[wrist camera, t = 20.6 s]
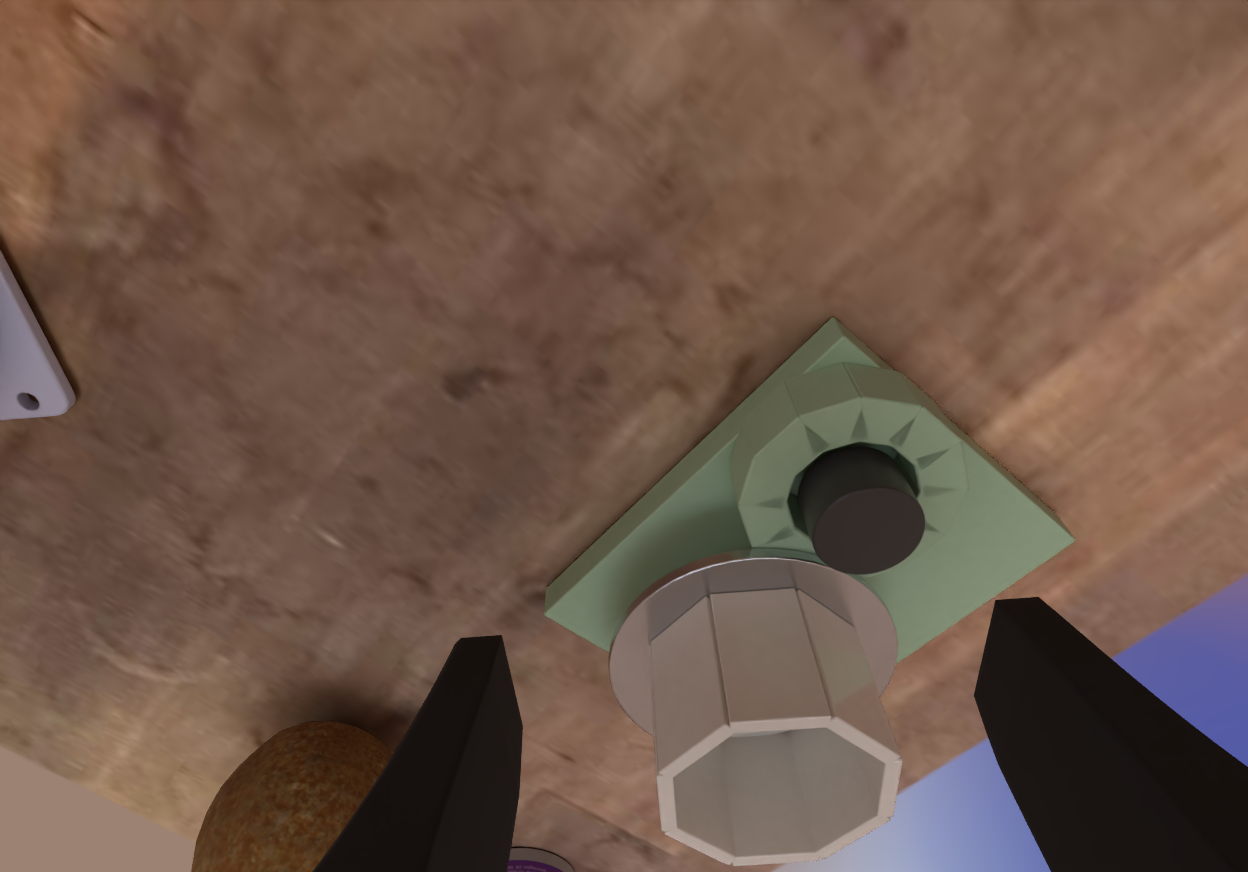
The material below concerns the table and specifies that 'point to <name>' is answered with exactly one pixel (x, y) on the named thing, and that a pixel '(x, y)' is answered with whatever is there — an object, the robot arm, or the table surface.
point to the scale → (769, 509)
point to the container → (536, 861)
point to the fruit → (290, 799)
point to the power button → (860, 511)
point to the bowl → (768, 730)
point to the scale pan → (741, 575)
